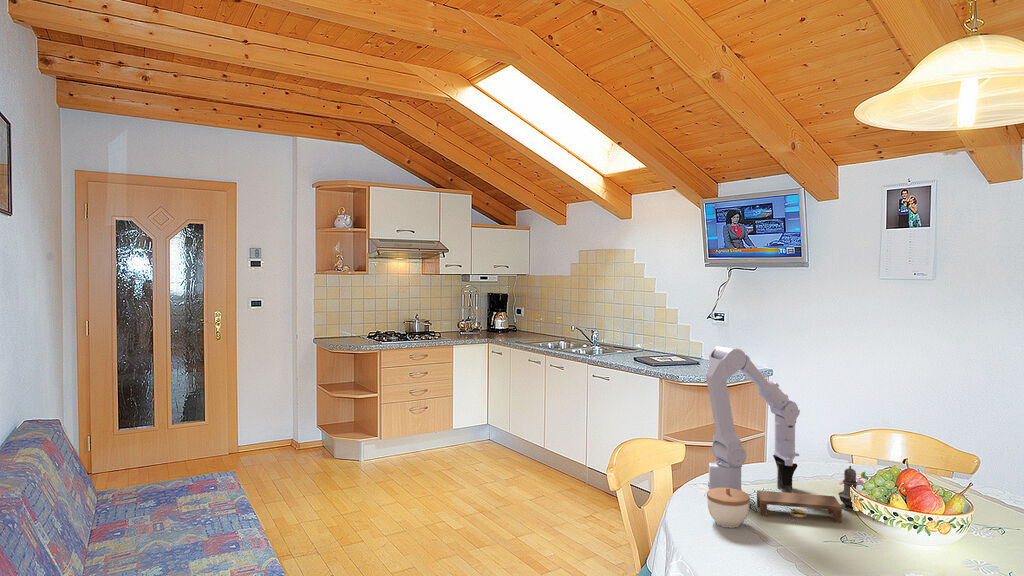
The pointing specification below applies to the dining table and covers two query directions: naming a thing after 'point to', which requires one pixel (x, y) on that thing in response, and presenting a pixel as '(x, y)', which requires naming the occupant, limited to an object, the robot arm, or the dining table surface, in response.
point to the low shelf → (799, 502)
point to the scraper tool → (780, 486)
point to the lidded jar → (728, 506)
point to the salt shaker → (848, 489)
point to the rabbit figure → (859, 481)
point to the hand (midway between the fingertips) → (784, 482)
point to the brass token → (798, 513)
